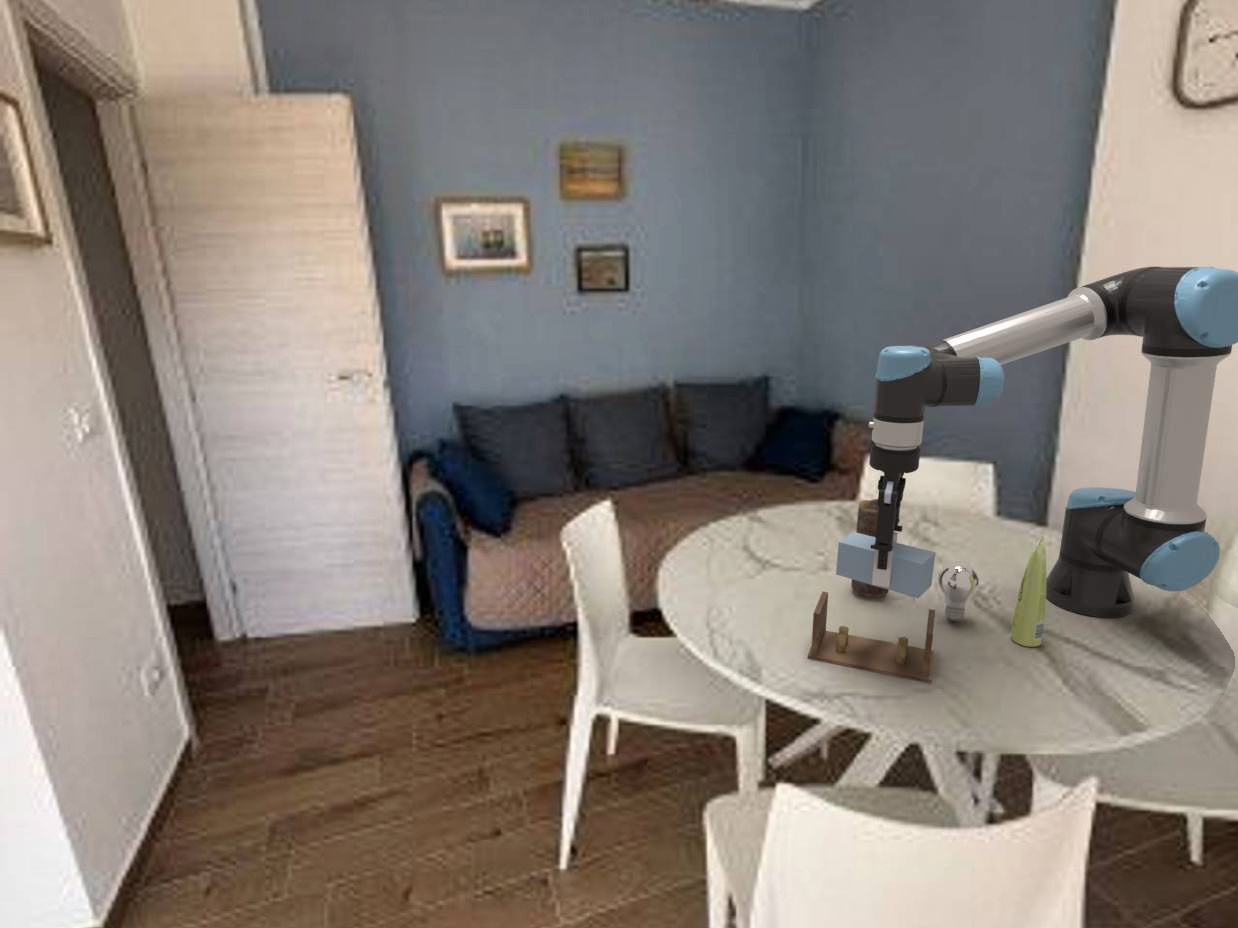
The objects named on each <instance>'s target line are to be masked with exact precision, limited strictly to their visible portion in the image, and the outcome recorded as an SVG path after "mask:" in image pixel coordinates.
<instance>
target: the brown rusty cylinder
mask: <svg viewBox="0 0 1238 928" xmlns="http://www.w3.org/2000/svg"><path fill="white" fill-rule="evenodd" d="M877 503H878V498H873V499H870V500H869V499H864V500H861V501H860V502H859V503H858V507H857V508H858V509H857V520H856V531H855V532H856V533H860V534H864V535H868V536H872V537H876V529H877V519H878V509H879V506H878V504H877ZM850 587H851V588H852V590H853V592H854V593H855V594H857V595H859V596H869V597H875V598H878V597H883V596H886V595H887V594H888V593H889V591H890V590H887V589H884V588H881V587H877V586H874V585H870V584H867V583H864V582H860V581H857V580H853V579H851V586H850Z"/></svg>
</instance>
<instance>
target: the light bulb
mask: <svg viewBox="0 0 1238 928" xmlns="http://www.w3.org/2000/svg"><path fill="white" fill-rule="evenodd" d="M939 571H940V572H939V573H938V578H937V579H938V580H937V581H938V586H939V589H940V590H941V592H942V594H943V597H944V603H945V611H944V614H945V616H946V618H947V619H949V621H950V622H953V623H957V622H959V621H960V620H962V619H963V618H965V611H966V607H967V605H968V603H969V600H970V599H971V598H972V597H973V596H974V595H975V593H977V591H978V589H979V585H980V578H979V574H978V573H977V571H976V569H975V568H974V567H973V566H972V565H970V564H968V563H966V562H965V561H959V560H958V561H952V562H951V561H950V562H948V563H947V564H945V565H944V566H943V567H942V568H941V570H939Z"/></svg>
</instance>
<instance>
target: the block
mask: <svg viewBox="0 0 1238 928" xmlns="http://www.w3.org/2000/svg"><path fill="white" fill-rule="evenodd" d="M875 539H876V537H872V536H868V535H864V534H860V533H856V531H853V532H851V533H850V534H848V535H847V536H846V537H844V538H843V539H841V540H840V541H838V546H837V557H836V559H837V560H836V570H835V575H837V576H840V577H844V578H847V579H850V580H852V579H853V580H857V581H860V582H864V583H867V584H870V585H872V577H873V566H874V554H875V549H871V545H874V544H875ZM892 546H893V556H892V566H891V577H890V586H889V587H883V586H877V587H881V588H884V589H887V590H889V591H892V592H895V593H899V594H901V595H905V596H907V597H908V596H909V597H912V598H915V599H920V598H921V597H922V596H923V594H925V593H926V592H927V591H928V590H929V589H930V588H931V587H932V584H933V583H932V582H933V575H934V566H935V558H936V552H935V551H931V550H927V549H923V548H919V547H915V546H911V545H908V544H907V545H906V544H903V543H899V542H897V543H896V542H893V544H892ZM874 586H876V585H874Z"/></svg>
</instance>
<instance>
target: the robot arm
mask: <svg viewBox="0 0 1238 928" xmlns="http://www.w3.org/2000/svg"><path fill="white" fill-rule="evenodd" d="M1108 336H1135V337H1141V338H1142V343H1141V350H1140V351H1141V352H1140V353H1141V355H1142V356H1143V357H1144V358H1145V359H1147V361H1149V363H1150V371H1149V378H1148V388H1147V395H1146V406H1145V413H1144V423H1143V427H1142V428H1143V429H1142V438H1141V447H1140V455H1139V463H1138V471H1137V480H1136V489H1135V491H1133V490H1128V489H1122V488H1116V487H1115V488H1114V487H1098V486H1097V487H1095V486H1094V487H1093V486H1092V487H1081V488H1077V489H1074V490H1073V491H1071V493H1070V494H1069V496H1068V499H1067V504H1066V506H1065V508H1064V510H1065V511H1064V517H1063V518H1064V519H1063V526H1062V533H1061V541H1060V547H1059V555H1058V559H1057V560H1056V561H1055V564H1054V565H1053V567H1052V569H1051V571H1050V572H1049V573H1048V575H1047V576H1046V600H1049V602H1051V604H1054V605H1056V606H1057V607H1060V608H1062V609H1065V610H1067V611H1069V612H1073V613H1075V614H1076V613H1077V614H1080V615H1084V616H1088V617H1089V616H1091V617H1098V618H1119V617H1124V616H1127V615H1129V614H1131V613H1132V611H1133V606H1134V601H1135V598H1134V592H1133V587H1132V583H1131V577H1130V575H1131V576H1134V577H1137V578H1138V579H1139V580H1141V581H1142V582H1143V583H1145V584H1147V585H1150V586H1153V587H1156V588H1158V589H1160V590H1162V591H1167V592H1181V591H1186V590H1189V589H1191V588H1194V587H1195V586H1197V585H1199V584H1200V583H1202V581H1203V580H1205V579H1206V578H1208V577H1209V575H1210V574H1212V572H1213V571H1214V570H1215V568H1216V566H1217V565H1218V562H1219V559H1220V555H1221V547H1220V545H1219V542H1218V541H1217V540H1216V539H1215V537H1213V535H1212V534H1209V532H1206V531H1205V530H1206V523H1207V512H1206V511H1205V510H1204V509H1203V508H1202V507H1201V506H1200V505H1199V504H1198V499H1199V492H1200V484H1201V478H1202V470H1203V465H1204V458H1205V450H1206V443H1207V436H1208V429H1209V428H1208V427H1209V423H1210V422H1209V421H1210V415H1211V407H1212V404H1213V403H1212V400H1213V395H1214V389H1215V381H1216V374H1217V369H1218V368H1217V367H1218V364H1220V362H1222V361H1224V360H1225V359H1226V358H1228V357H1230V355H1231V354H1232V348H1233V345H1235V344H1238V271H1235V270H1233V269H1232V270H1231V269H1228V268H1218V267H1217V268H1216V267H1213V266H1174V267H1173V266H1145V267H1140V268H1135V269H1131V270H1126V271H1124V272H1120V273H1117V274H1115V275H1112V276H1108V277H1106V278H1102V279H1099V280H1096V281H1094V282H1091V283H1089V284H1085V285H1082V286H1078V287H1077V288H1076V287H1075V288H1074V289H1073V290H1071V291H1070V292H1069V294H1068V295H1067V297H1066V298H1065V297H1064V298H1061V299H1060V300H1055V301H1053V302H1050V303H1048V304H1044V305H1042V306H1039V307H1036V308H1033V309H1030V310H1026V311H1024V312H1021V313H1017V314H1015V315H1011V316H1009V317H1006V318H1003V319H1001V320H997V321H994V322H991V323H988V324H985V325H983V326H980V327H977V328H974V329H971V330H968V331H965V332H962V333H960V334H959V333H958V334H956V335H954V336H950V337H947V338H944V339H941V340H938V341H934V342H932V343H928V344H926V345H922V346H920V345H892V346H887V347H884V348H883V349H882V350H881V351H880V352H879V355H878V360H877V367H876V373H875V391H874V393H875V394H874V403H873V404H874V405H873V406H874V407H873V417H872V419H873V421H869V423H868V427H869V428H871V429H872V431H871V441H872V442H873V443H872V444H871V445H870V449H869V462H868V463H869V466H870V468H872V469H873V470H876V471H881V472H882V473H883V475H880V477H879V479H878V482H877V489H878V497H877V499H878V503H877V504H878V506H879V509H878V519H877V529H876V539H875V544H874V545H871V549H875V554H874V566H873V577H872V585H876V586H883V587H889V586H890V577H891V566H892V556H893V546H892V544H893V542H896V543H898V532H900V533H901V532H903V525H899V524H900V511H901V510H900V509H901V504H902V501H903V498H904V492H905V491H904V490H905V488H906V481H907V478H906V477H904V476H905V474H910V473H913V472H914V473H915V472H916V471H917V470H918V469H919V467H920V459H921V458H920V456H921V449H920V447H919V446H920V445H921V444H922V443H923V442H922V441H923V433H924V432H923V431H924V424H925V423H924V422H925V411H926V408H938V407H940V408H941V407H965V406H966V407H968V406H971V407H976V406H983V405H988V404H989V405H990V404H993V403H995V402H996V401H997V400H998V399H999V398H1000V396H1001V395H1002V394H1003V393H1002V392H1003V390H1004V383H1005V374H1004V370H1003V367H1002V365H1004V364H1008V363H1011V362H1013V361H1016V360H1020V359H1024V358H1025V357H1026V358H1027V357H1029V356H1031V355H1034V354H1039V353H1040V352H1043V351H1046V350H1050V349H1053V348H1056V347H1059V346H1061V345H1065V344H1068V343H1070V342H1073V341H1077V340H1079V339H1082V340H1086V341H1094V340H1098V339H1100V338H1103V337H1108Z"/></svg>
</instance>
